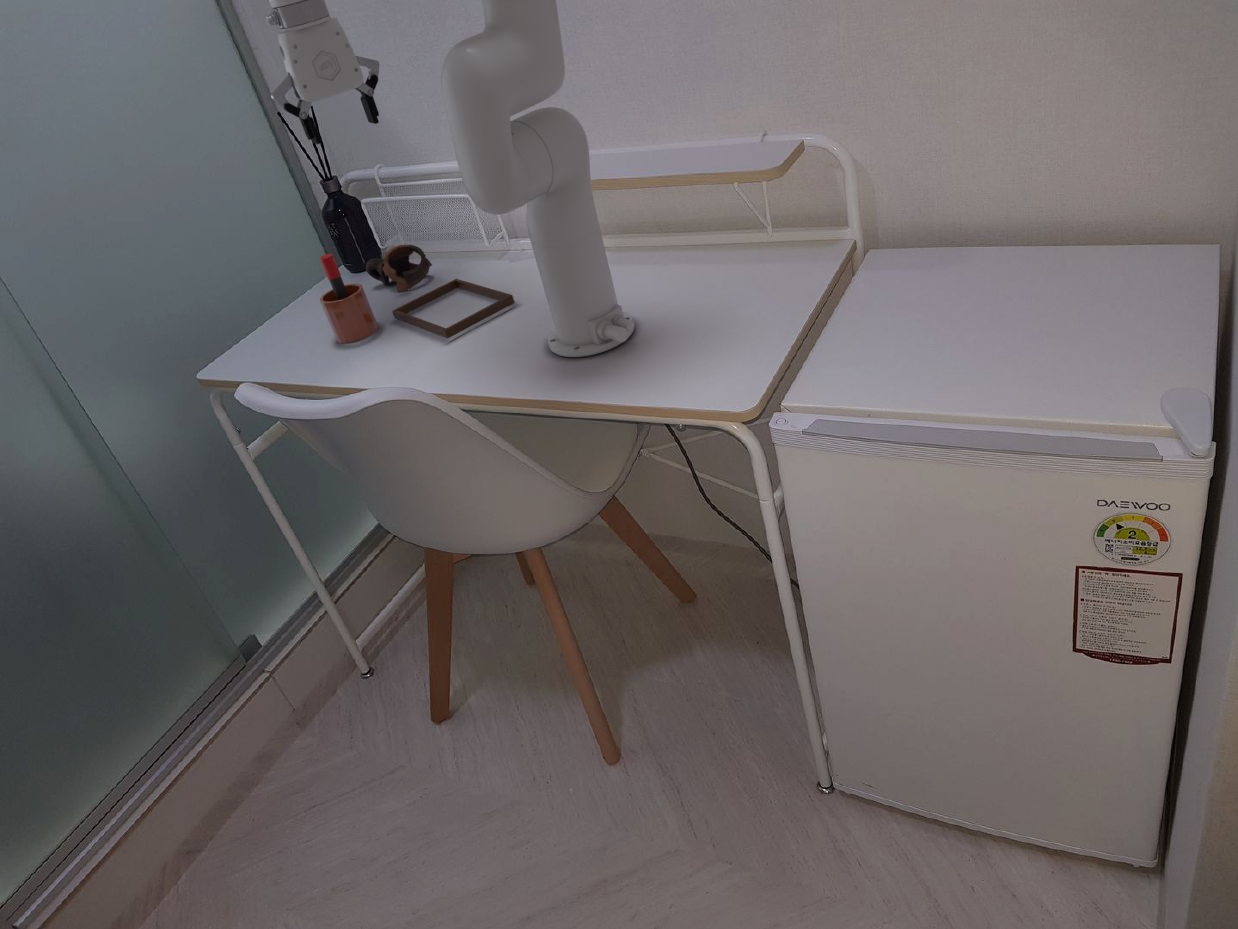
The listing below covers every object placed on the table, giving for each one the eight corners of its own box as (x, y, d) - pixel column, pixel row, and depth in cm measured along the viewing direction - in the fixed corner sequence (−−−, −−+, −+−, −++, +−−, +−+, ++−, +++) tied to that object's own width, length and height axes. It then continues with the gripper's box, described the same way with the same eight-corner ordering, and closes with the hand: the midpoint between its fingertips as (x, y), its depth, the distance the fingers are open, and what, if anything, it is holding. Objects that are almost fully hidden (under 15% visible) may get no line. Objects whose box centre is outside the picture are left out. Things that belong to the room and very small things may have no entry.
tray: (516, 306, 148) (512, 294, 147) (449, 342, 142) (444, 330, 141) (460, 289, 160) (456, 278, 159) (396, 322, 154) (391, 310, 153)
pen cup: (387, 332, 151) (369, 287, 147) (350, 350, 148) (331, 305, 144) (368, 324, 156) (350, 280, 152) (331, 342, 153) (312, 298, 149)
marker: (366, 331, 152) (334, 254, 144) (355, 336, 151) (322, 259, 143) (360, 328, 153) (328, 252, 146) (349, 334, 152) (317, 257, 145)
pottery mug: (437, 270, 173) (432, 239, 165) (432, 310, 168) (427, 279, 161) (372, 268, 172) (364, 237, 165) (366, 308, 167) (357, 277, 160)
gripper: (251, 31, 129) (300, 153, 138) (364, -2, 135) (404, 116, 145) (239, 31, 135) (287, 148, 144) (348, -1, 141) (387, 113, 150)
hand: (346, 132), depth 144 cm, fingers open, 9 cm apart
